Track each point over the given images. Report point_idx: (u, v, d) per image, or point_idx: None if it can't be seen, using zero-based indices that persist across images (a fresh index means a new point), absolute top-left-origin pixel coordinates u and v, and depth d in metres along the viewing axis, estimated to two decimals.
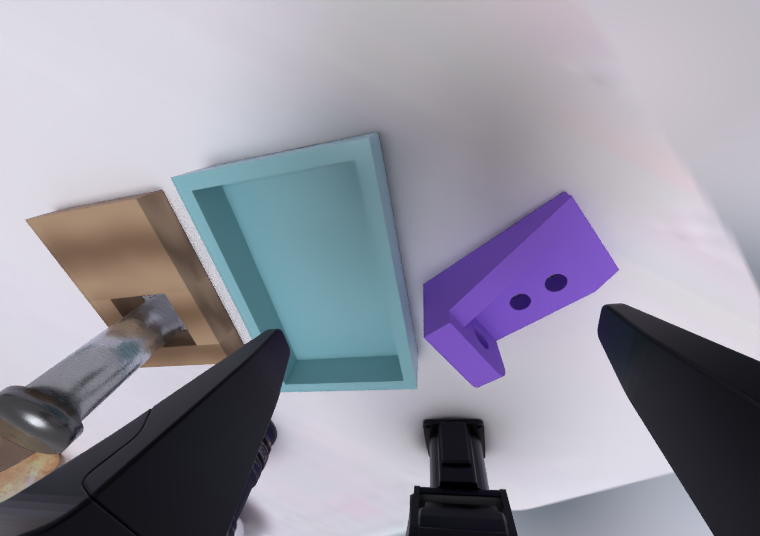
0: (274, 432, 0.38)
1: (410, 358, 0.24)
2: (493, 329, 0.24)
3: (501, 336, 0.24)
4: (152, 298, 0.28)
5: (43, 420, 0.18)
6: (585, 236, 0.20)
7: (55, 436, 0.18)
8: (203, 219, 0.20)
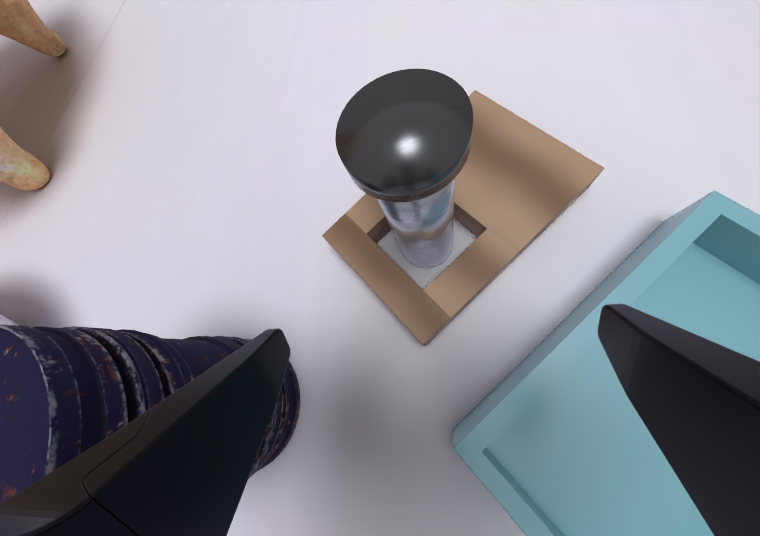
0: (264, 466, 0.21)
1: None
2: None
3: None
4: None
5: (465, 144, 0.10)
6: None
7: (429, 167, 0.10)
8: (692, 237, 0.16)
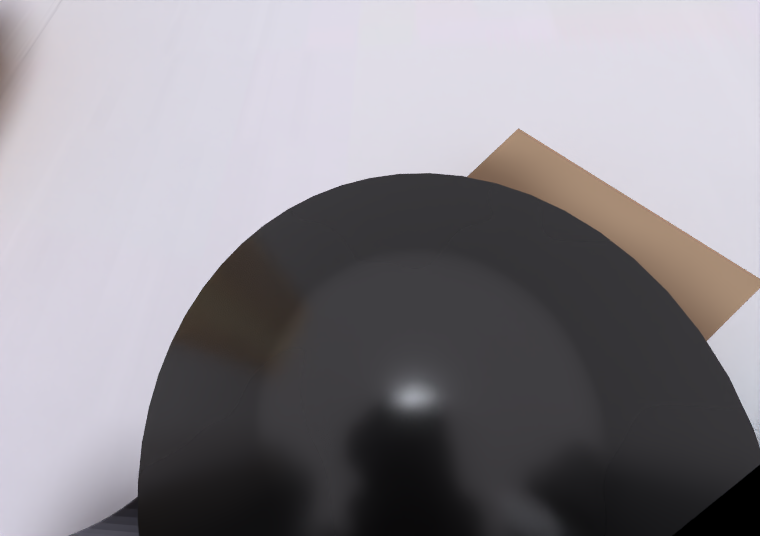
0: None
1: None
2: None
3: None
4: None
5: None
6: None
7: None
8: None
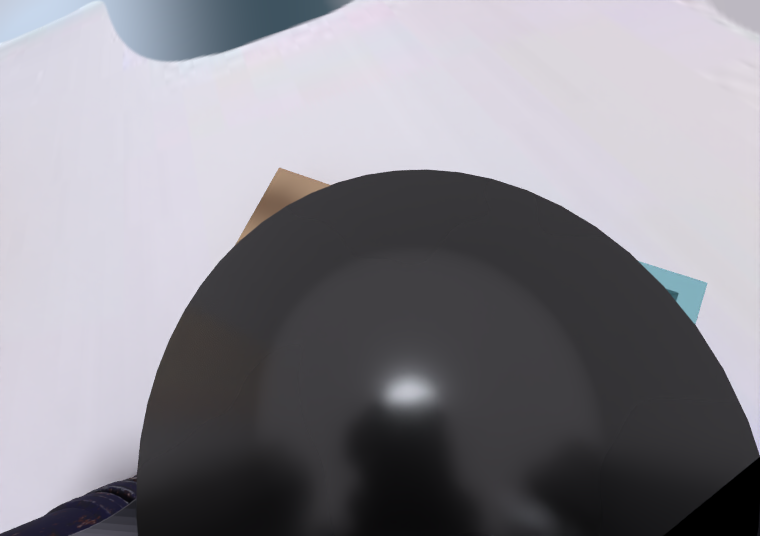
0: None
1: None
2: None
3: None
4: None
5: None
6: None
7: None
8: None
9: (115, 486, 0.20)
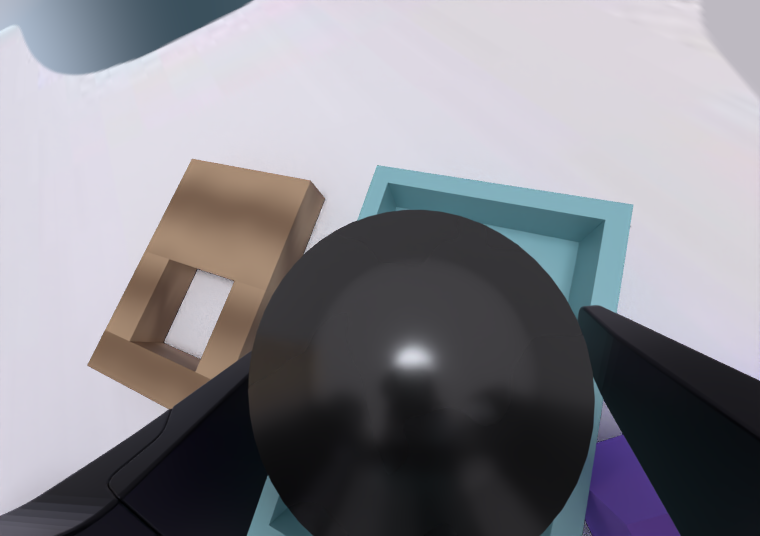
0: None
1: None
2: None
3: None
4: None
5: (576, 465, 0.04)
6: None
7: (475, 531, 0.04)
8: (374, 212, 0.17)
9: None
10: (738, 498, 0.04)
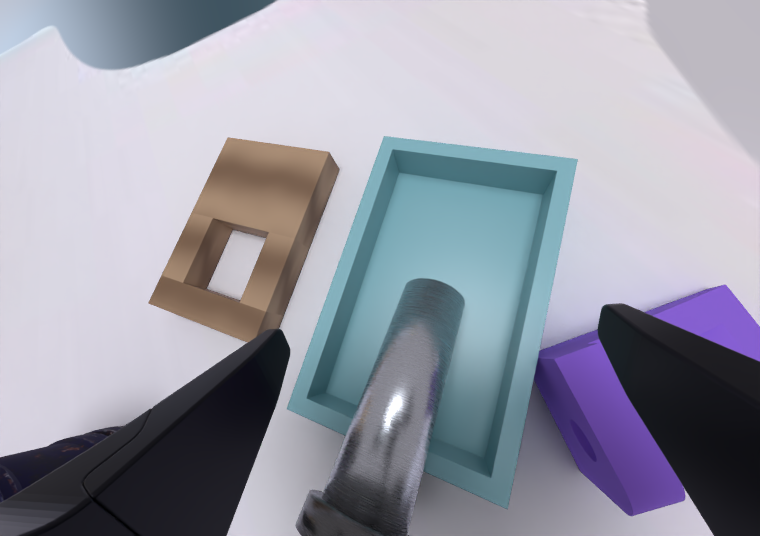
0: None
1: (520, 434, 0.15)
2: None
3: None
4: (448, 308, 0.17)
5: None
6: (756, 335, 0.16)
7: None
8: (382, 171, 0.21)
9: (98, 430, 0.21)
10: None
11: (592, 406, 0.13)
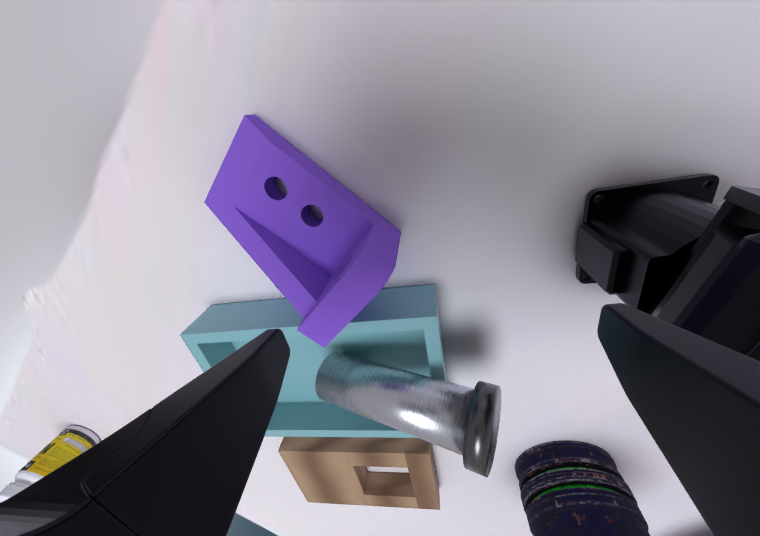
0: (576, 446, 0.29)
1: (384, 320, 0.20)
2: (358, 231, 0.19)
3: (365, 219, 0.19)
4: (329, 385, 0.23)
5: (494, 392, 0.18)
6: (226, 175, 0.19)
7: (498, 391, 0.19)
8: (268, 430, 0.28)
9: None
10: None
11: (338, 323, 0.17)
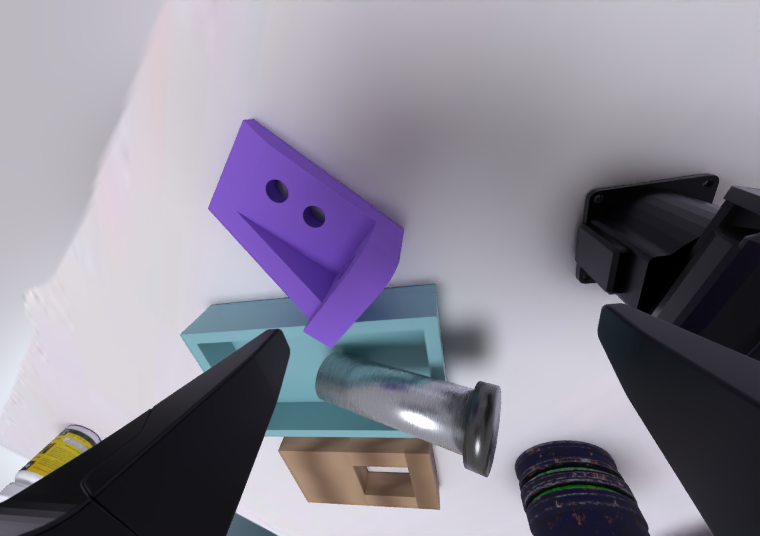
0: (577, 446, 0.29)
1: (384, 320, 0.20)
2: (360, 230, 0.19)
3: (367, 218, 0.19)
4: (329, 385, 0.23)
5: (494, 392, 0.18)
6: (227, 181, 0.19)
7: (498, 391, 0.19)
8: (268, 430, 0.28)
9: None
10: None
11: (343, 322, 0.17)
